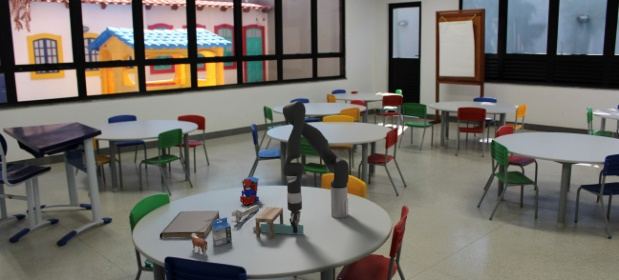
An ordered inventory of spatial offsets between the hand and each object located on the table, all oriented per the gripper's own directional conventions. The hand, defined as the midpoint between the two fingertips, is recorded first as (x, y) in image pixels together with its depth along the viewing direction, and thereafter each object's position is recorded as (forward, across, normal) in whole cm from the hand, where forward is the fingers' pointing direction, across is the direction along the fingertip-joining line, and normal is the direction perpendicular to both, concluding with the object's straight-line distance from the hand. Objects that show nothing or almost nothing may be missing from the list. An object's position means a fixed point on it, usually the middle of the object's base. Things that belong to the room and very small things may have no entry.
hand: (295, 232), depth 277 cm
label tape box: (+1, +19, -33) cm, 38 cm away
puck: (+1, 0, -21) cm, 21 cm away
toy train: (+1, -46, -43) cm, 63 cm away
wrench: (+1, -20, -35) cm, 40 cm away
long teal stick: (+1, 0, -8) cm, 8 cm away
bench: (+1, 0, -14) cm, 14 cm away
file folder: (+2, 0, -60) cm, 60 cm away
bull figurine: (+1, +31, -40) cm, 51 cm away
